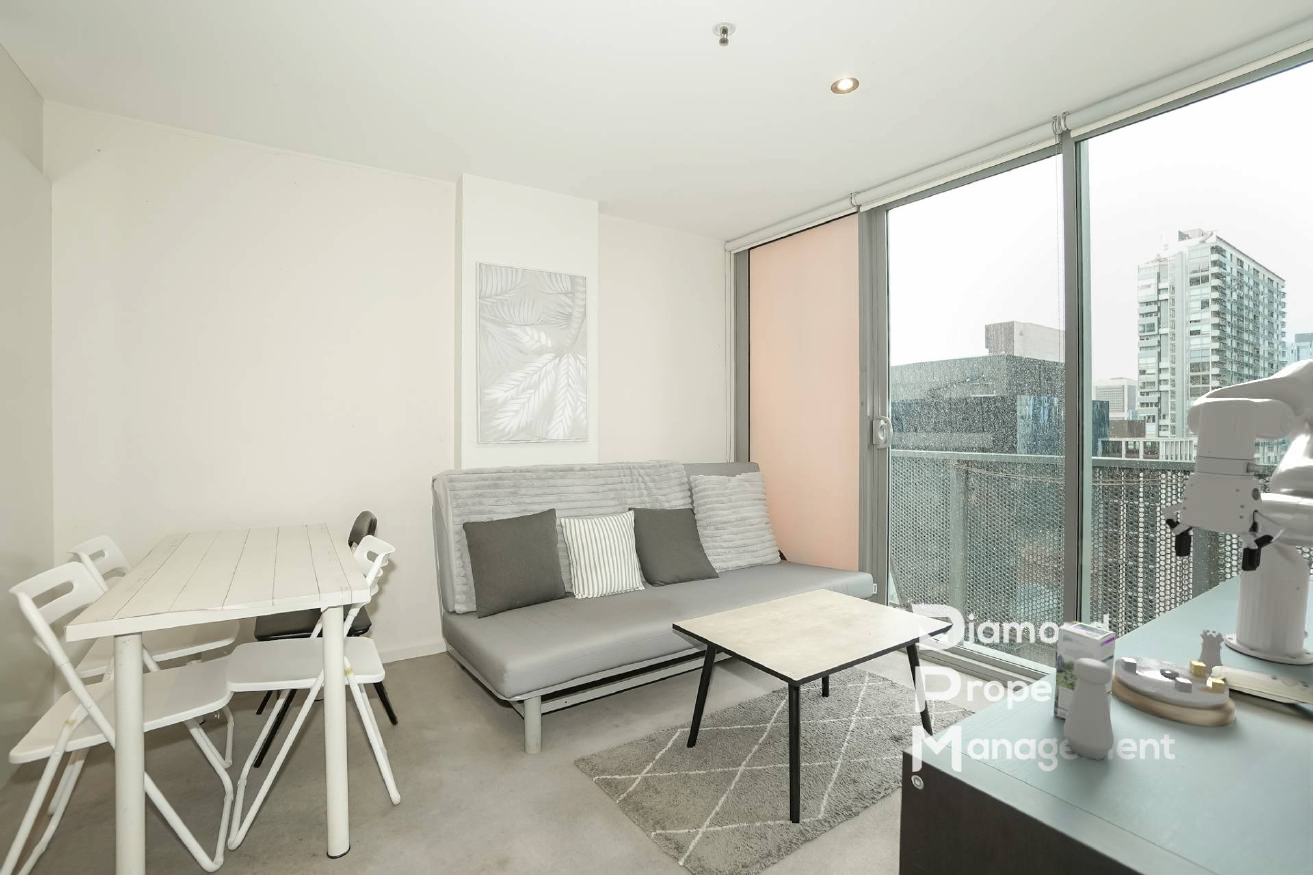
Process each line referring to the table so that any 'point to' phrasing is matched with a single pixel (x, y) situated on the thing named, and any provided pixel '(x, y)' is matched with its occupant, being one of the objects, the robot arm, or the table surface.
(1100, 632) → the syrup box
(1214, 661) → the rook chess piece
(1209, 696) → the white round board
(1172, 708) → the tan flat disc
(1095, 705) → the salt shaker
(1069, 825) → the table surface
